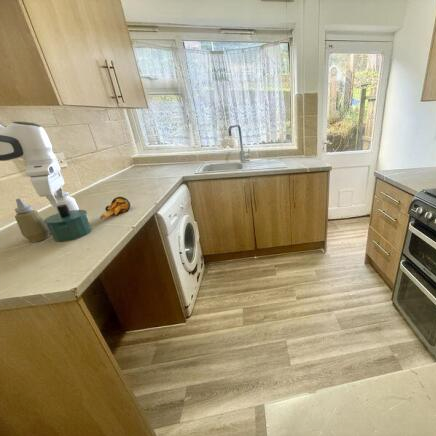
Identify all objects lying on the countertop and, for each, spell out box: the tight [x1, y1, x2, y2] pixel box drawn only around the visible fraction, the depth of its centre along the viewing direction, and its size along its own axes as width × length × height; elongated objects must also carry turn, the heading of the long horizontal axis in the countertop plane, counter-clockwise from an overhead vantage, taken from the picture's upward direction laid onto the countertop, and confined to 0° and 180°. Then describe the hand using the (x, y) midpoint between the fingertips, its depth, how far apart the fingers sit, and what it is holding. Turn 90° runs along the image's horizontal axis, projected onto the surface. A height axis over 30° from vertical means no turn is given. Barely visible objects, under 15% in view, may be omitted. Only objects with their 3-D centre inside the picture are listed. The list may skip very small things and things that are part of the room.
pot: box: [46, 214, 92, 243], centre depth 104 cm, size 13×18×8 cm
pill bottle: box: [52, 191, 80, 214], centre depth 114 cm, size 8×8×15 cm
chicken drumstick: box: [100, 196, 131, 220], centre depth 123 cm, size 9×11×18 cm
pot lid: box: [43, 205, 88, 224], centre depth 101 cm, size 14×14×6 cm
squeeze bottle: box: [14, 198, 50, 243], centre depth 99 cm, size 8×8×18 cm
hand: (58, 201), depth 99 cm, fingers open, 8 cm apart
